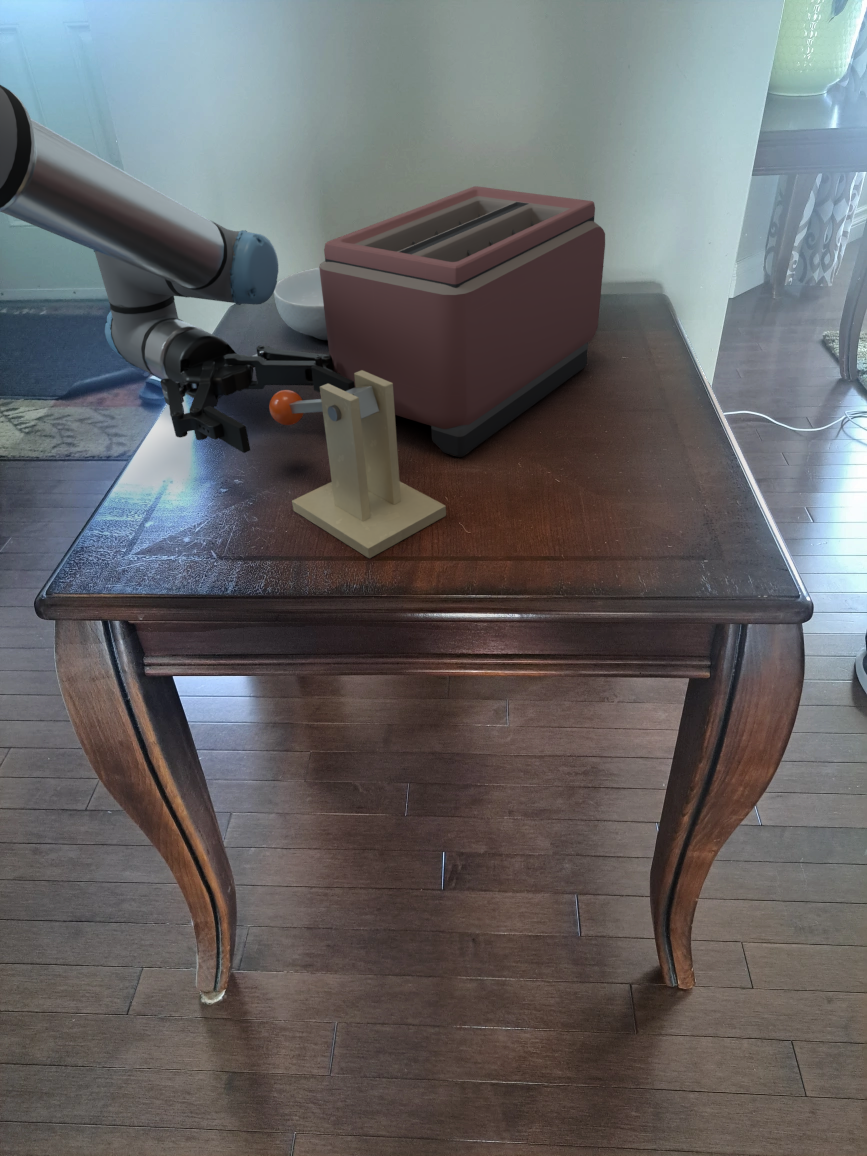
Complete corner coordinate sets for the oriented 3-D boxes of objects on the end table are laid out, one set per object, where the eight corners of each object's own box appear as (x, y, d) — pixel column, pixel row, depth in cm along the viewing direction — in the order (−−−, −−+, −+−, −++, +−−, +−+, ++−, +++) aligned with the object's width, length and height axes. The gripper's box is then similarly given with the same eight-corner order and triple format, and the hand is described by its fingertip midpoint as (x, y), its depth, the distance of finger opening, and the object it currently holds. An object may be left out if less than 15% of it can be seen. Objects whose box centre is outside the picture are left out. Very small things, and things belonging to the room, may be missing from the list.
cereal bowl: (291, 311, 130) (284, 265, 126) (396, 309, 129) (393, 263, 125) (270, 354, 116) (261, 304, 112) (387, 352, 116) (384, 302, 111)
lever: (270, 430, 87) (258, 397, 85) (297, 418, 89) (286, 386, 87) (357, 428, 74) (345, 389, 73) (387, 415, 76) (376, 376, 75)
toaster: (611, 354, 112) (627, 191, 100) (460, 466, 90) (457, 273, 77) (491, 327, 122) (492, 175, 109) (327, 423, 99) (305, 244, 86)
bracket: (293, 510, 84) (272, 383, 76) (368, 473, 89) (356, 351, 81) (369, 558, 77) (355, 424, 68) (446, 515, 82) (442, 386, 74)
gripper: (284, 359, 106) (394, 409, 93) (101, 426, 92) (202, 494, 80) (275, 300, 101) (390, 344, 89) (82, 362, 88) (185, 424, 75)
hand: (301, 416), depth 84 cm, fingers open, 13 cm apart
